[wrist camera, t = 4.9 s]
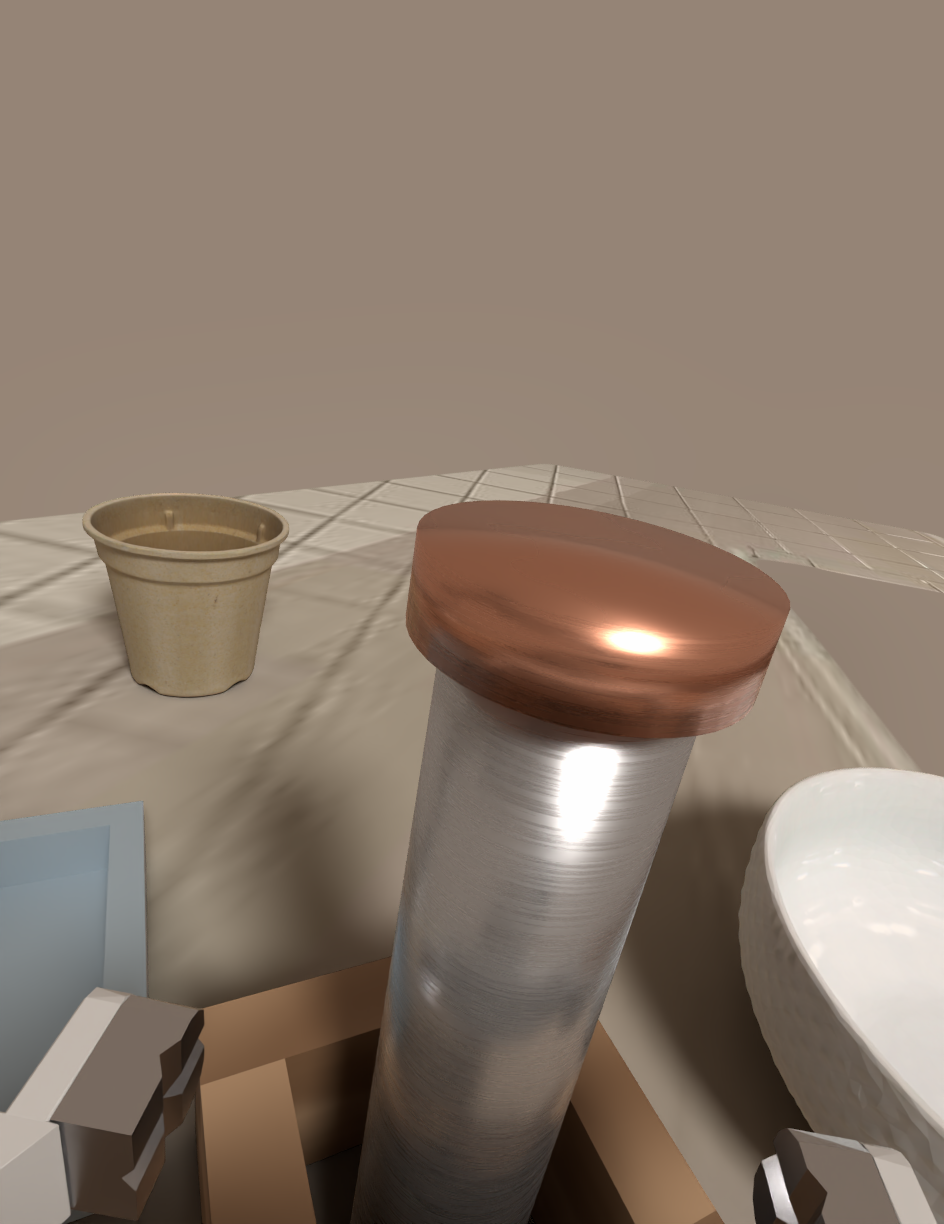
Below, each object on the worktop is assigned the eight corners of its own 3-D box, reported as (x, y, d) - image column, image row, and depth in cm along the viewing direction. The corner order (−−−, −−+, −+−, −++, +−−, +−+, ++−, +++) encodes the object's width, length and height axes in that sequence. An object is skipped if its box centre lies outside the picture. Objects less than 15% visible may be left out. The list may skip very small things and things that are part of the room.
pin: (301, 1192, 16) (369, 494, 9) (473, 1121, 18) (632, 506, 11) (351, 1472, 12) (529, 646, 6) (561, 1344, 14) (878, 624, 8)
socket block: (195, 1130, 17) (194, 1010, 15) (506, 1021, 21) (535, 916, 19) (242, 1791, 10) (250, 1709, 8) (708, 1430, 13) (784, 1321, 12)
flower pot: (133, 739, 30) (124, 562, 27) (70, 651, 36) (56, 497, 33) (313, 688, 37) (324, 540, 33) (235, 620, 43) (237, 488, 39)
